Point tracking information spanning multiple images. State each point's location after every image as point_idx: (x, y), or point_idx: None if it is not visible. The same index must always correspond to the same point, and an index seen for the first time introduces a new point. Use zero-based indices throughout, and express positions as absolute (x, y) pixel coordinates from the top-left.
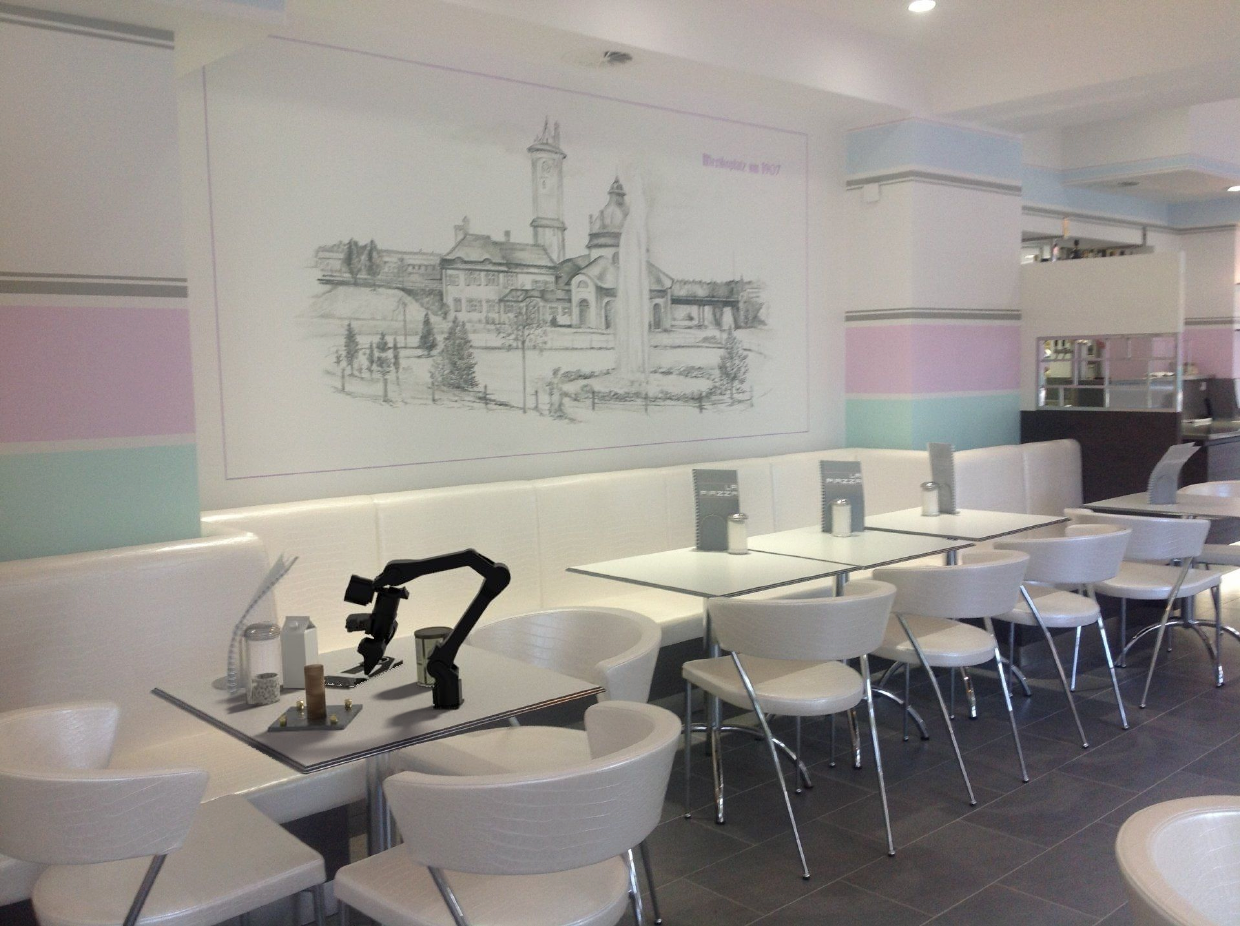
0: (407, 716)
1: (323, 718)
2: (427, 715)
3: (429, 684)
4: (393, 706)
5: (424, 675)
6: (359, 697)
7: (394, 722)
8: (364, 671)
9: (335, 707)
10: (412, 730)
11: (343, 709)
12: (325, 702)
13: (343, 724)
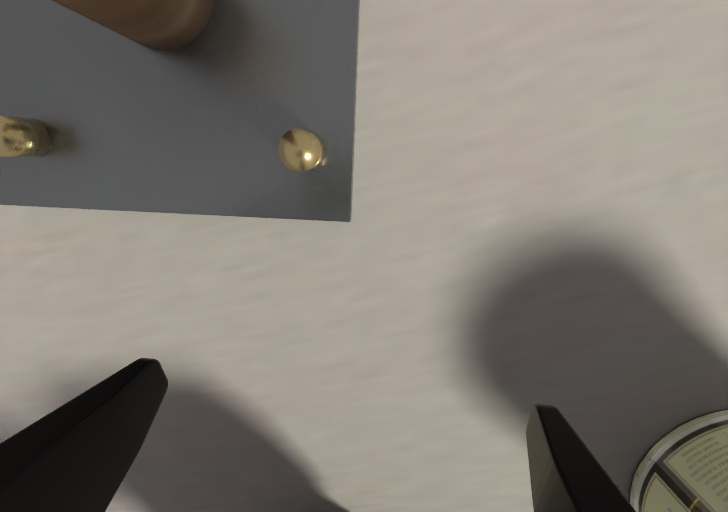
0: (202, 440)
1: (99, 52)
2: (211, 509)
3: (646, 480)
4: (357, 361)
5: (694, 498)
6: (561, 154)
7: None
8: (102, 384)
9: (305, 71)
10: None
11: (262, 133)
12: (119, 25)
13: (3, 199)
